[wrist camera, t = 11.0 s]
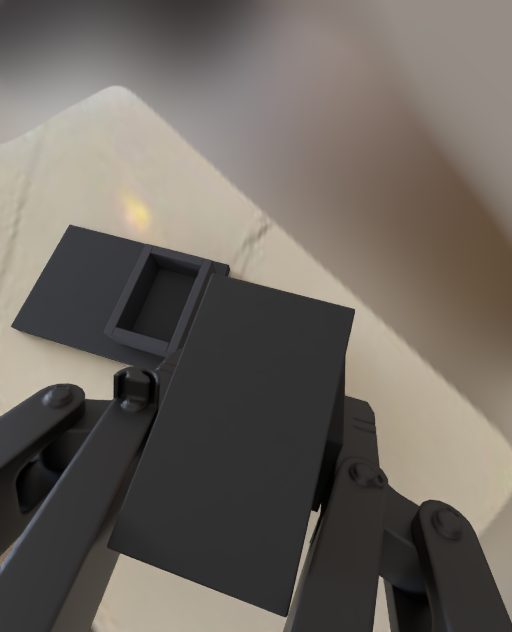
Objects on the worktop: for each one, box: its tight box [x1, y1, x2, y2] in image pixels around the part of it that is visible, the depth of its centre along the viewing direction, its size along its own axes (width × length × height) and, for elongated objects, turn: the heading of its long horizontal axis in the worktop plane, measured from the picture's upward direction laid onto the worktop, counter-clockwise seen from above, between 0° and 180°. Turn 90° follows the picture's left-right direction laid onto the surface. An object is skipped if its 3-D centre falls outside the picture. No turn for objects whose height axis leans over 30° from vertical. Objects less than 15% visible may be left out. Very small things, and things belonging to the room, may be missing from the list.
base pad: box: [11, 225, 230, 370], centre depth 34 cm, size 18×12×4 cm, turn 73°
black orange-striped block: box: [107, 273, 355, 617], centre depth 12 cm, size 4×6×11 cm, turn 163°
